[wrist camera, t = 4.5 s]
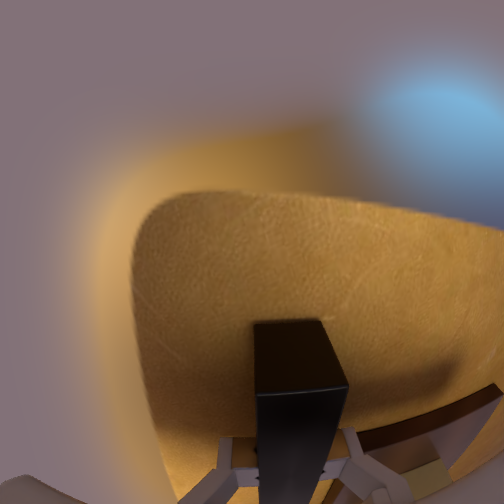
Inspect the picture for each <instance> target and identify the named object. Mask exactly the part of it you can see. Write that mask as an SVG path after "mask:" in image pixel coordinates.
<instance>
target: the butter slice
mask: <svg viewBox="0 0 504 504" xmlns="http://www.w3.org/2000/svg"><path fill="white" fill-rule="evenodd" d="M400 475H401V476H402V477H404V478H406V480H407V483H408V485H409V487H410V490H411V492H412V495H413V497H414V500H415V501H416V500H419V499H421V498H423V497H425V496H427V495H430V494H432V493H434V492H436V491H438V490H440V489H442V488H444V487H446V486H447V485H449V484H451V483H453V481H452V479H451V477H450V475H449V473H448V471H447V469H446V467H445V465H444V463H443V461H442V459H441V458H439V459H437V460H435V461H432V462H430V463H428V464H425V465H423V466H421V467H418V468H416V469H413V470H411V471H408V472H405V473H402V474H400Z"/></svg>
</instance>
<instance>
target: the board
mask: <svg viewBox="0 0 504 504" xmlns="http://www.w3.org/2000/svg"><path fill="white" fill-rule="evenodd" d="M503 395H504V393H503V392H502V391H501V390H500V389H499V388H498V387H497V385H496V384H493V385H491V386H489V387H487V388H485V389H483V390H481V391H479V392H477V393H475V394H473V395H471V396H469V397H467V398H465V399H463V400H460V401H458V402H456V403H453V404H451V405H449V406H446V407H444V408H441V409H439V410H436V411H434V412H431V413H428V414H425V415H423V416H420V417H417V418H414V419H411V420H408V421H404V422H401V423H398V424H394V425H391V426H387V427H384V428H380V429H376V430H372V431H367V432H363V433H358V434H357V437H358V440H359V442H360V445H361V448H362V451H363V453H364V455H367V454H368V455H369V456H371V457H372V458H374V459H375V460H377V461H378V462H380V463H381V464H383V465H384V466H386V467H388V468H389V469H391V470H392V471H394V472H396V473H397V474H399V475H400V474H402V473H405V472H408V471H411V470H413V469H416V468H418V467H421V466H423V465H425V464H428V463H430V462H432V461H435V460H437V459H439V458H441V459H442V461H443V463H444V465H445V467H446V469H447V470H448V469H449V468H450V467H451V466H452V465H453V464H454V463H455V462H456V460H457V459H458V458H459V457H460V456H461V455H462V453H463V452H464V451H465V450H466V449H467V447H468V446H469V445H470V444H471V442H472V441H473V440H474V438H475V437H476V436H477V435H478V433H479V432H480V430H481V429H482V428H483V426H484V425H485V423H486V422H487V421H488V419H489V418H490V416H491V415H492V413H493V412H494V410H495V408H496V407H497V405H498V404H499V402H500V400H501V399H502V397H503ZM362 502H363V500H362V499H361V498H360V497H358V496H357V495H356V494H355V493H354V492H353V491H351V490H350V489H349V488H348V487H347V486H346V485H345V484H344V483H342V482H341V481H340V480H339V479H338V478H336V479H335V481H334V483H333V485H332V487H331V489H330V490H329V492H328V494H327V496H326V498H325V500H324V501H323V503H322V504H362Z"/></svg>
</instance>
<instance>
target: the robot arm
mask: <svg viewBox="0 0 504 504" xmlns="http://www.w3.org/2000/svg"><path fill="white" fill-rule="evenodd" d="M258 476H259V468H258V467H257V443H256V437H220V440H219V447H218V457H217V468H216V469H212V470H211V471H210V472H209V473H208V474H207V475H206V476H205V477H204V478H203V479H202V480H201V481H200V482H199V483H198V484H197V485H196V486H195V487H194V488H193V489H192V490H191V491H190V492H188V493H187V494H186V495H185V496H184V497H183V498H182V499H181V500H180V501H179V502H178V504H226V503H227V502H228V501H229V499H230V498H231V497H232V496H233V494H234V493H235V492H236V491H237V489H238V487H255V486H259V479H258ZM334 478H338V479H339V480H340V481H341V482H342V483H344V484H345V485H346V486H347V487H348V488H349V489H350V490H351V491H353V492H354V493H355V494H356V495H357V496H358V497H360V498H361V499H362V500H363V502H362V504H504V449H503V450H502V451H501V452H499V453H498V454H497V455H495V456H494V457H493V458H491V459H490V460H488V461H487V462H485V463H484V464H482V465H481V466H479V467H478V468H476V469H475V470H473V471H472V472H470V473H468V474H467V475H465V476H463V477H462V478H460V479H458V480H457V481H455V482H453V483H451V484H449V485H447V486H446V487H444V488H442V489H440V490H438V491H436V492H434V493H432V494H430V495H427V496H425V497H423V498H421V499H419V500H416V501H415V500H414V497H413V495H412V492H411V490H410V487H409V485H408V483H407V480H406V478H404V477H402V476H401V475H399V474H397V473H396V472H394V471H392V470H391V469H389V468H388V467H386V466H384V465H383V464H381V463H380V462H378V461H377V460H375V459H374V458H372V457H371V456H369V455H368V454H367V455H364V453H363V451H362V448H361V445H360V442H359V440H358V437H357V434H356V431H355V429H354V427H352V426H351V427H346V428H341V429H340V428H339V429H337V431H336V435H335V438H334V441H333V444H332V447H331V449H330V452H329V455H328V458H327V461H326V463H325V466H324V468H323V471H322V474H321V476H320V478H319V481H321V480H328V479H334ZM0 504H87V503H84V502H82V501H79V500H77V499H75V498H73V497H71V496H68V495H66V494H64V493H62V492H60V491H58V490H56V489H54V488H52V487H50V486H48V485H47V484H45V483H43V482H41V481H40V480H38V479H36V478H34V477H32V476H30V475H22V476H18V477H15V478H13V479H10V480H7V481H5V482H3V483H2V484H1V485H0Z"/></svg>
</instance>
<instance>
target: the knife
mask: <svg viewBox="0 0 504 504" xmlns="http://www.w3.org/2000/svg"><path fill="white" fill-rule="evenodd" d="M253 334H254V391H255V418H256V443H257V467H258V468H259V476H258V479H259V486H258V492H259V504H309V502H310V500H311V498H312V495H313V493H314V491H315V488H316V486H317V484H318V481H319V478H320V476H321V474H322V471H323V468H324V466H325V463H326V461H327V458H328V455H329V452H330V449H331V447H332V444H333V441H334V438H335V435H336V431H337V428H338V425H339V422H340V418H341V415H342V412H343V408H344V404H345V401H346V397H347V393H348V389H349V383H348V381H347V378H346V376H345V374H344V372H343V369H342V367H341V365H340V362H339V360H338V358H337V356H336V353H335V351H334V349H333V347H332V344H331V342H330V340H329V338H328V335H327V333H326V331H325V329H324V327H323V325H322V322H321V321H307V322H291V323H270V324H255V325H254V326H253Z"/></svg>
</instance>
